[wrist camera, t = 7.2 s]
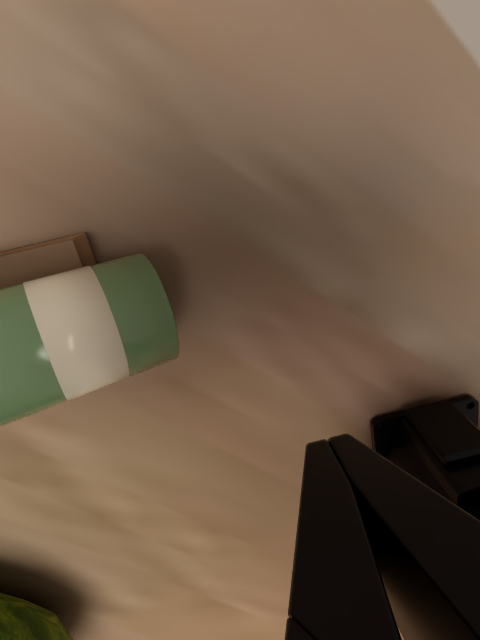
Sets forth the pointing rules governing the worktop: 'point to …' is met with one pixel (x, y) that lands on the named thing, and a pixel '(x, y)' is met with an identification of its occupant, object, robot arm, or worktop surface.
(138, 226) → the worktop surface
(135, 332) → the bottle
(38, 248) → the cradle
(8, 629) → the lettuce
